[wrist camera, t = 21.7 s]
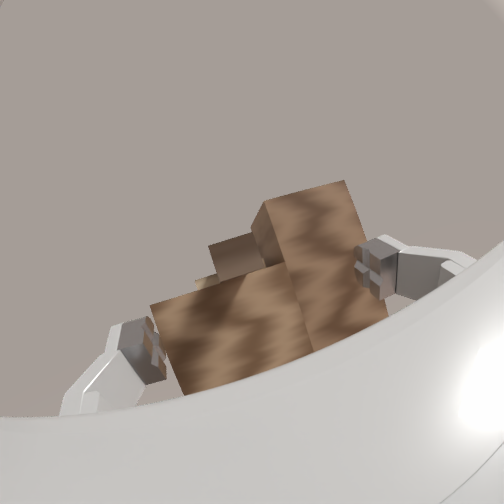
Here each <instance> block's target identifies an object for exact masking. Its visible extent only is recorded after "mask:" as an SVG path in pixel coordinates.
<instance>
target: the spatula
mask: <svg viewBox="0 0 504 504" xmlns="http://www.w3.org/2000/svg"><path fill="white" fill-rule="evenodd" d="M208 247H209V250H210V253H211V256H212V260H213V263H214V266H215V269H216V272H217V274H214V275H210V276H208V277H204V278H201V279H198V280H195V283H196V286H197V289H198V290H200V289H204V288H207V287H210V286H213V285H216V284H219V283H222V282H225V281H228V280H231V279H234V278H238V277H241V276H244V275H247V274H250V273H253V272H256V271H259V270H262V269H265V268H266V265H265V262H264V259H262V258H261V255H260V252H259V249H258V246H257V243H256V240H255V237H254V234H253V232H251V233H248V234H245V235H241V236H238V237H236V238H232V239H228V240H225V241H222V242H219V243H216V244H213V245H210V246H208Z"/></svg>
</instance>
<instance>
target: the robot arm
mask: <svg viewBox="0 0 504 504" xmlns="http://www.w3.org/2000/svg"><path fill="white" fill-rule="evenodd" d="M3 1H4V0H0V6H1V5H2V3H3ZM353 254H354V258H355V259H356V260H357V261H356V264H355V266H354V272H355V276H356V279H357V281H358V282H359V284H360V285H361V286H362V287H365V288H370V293H371V294H372V295H373V296H374V297H375V298H377V299H378V300H379V301H380V300H382V299H384V298H387V297H388V296H391V295H393V294H395V293H396V294H398V295H401V296H404V297H407V298H410V299H413V300H416V301H415V302H413V303H412V304H410V305H408V306H406V307H405V308H403V309H401V310H399V311H398V312H396V313H394V314H392V315H390V316H389V317H387V318H385V319H383V320H381V321H379V322H377V323H375V324H373V325H371V326H369V327H368V328H366V329H364V330H362V331H359V332H357V333H355V334H353V335H351V336H349V337H347V338H345V339H343V340H341V341H339V342H336V343H334V344H332V345H330V346H328V347H325V348H323V349H321V350H318V351H316V352H314V353H311V354H309V355H307V356H304V357H302V358H299V359H297V360H294V361H292V362H289V363H286V364H284V365H281V366H279V367H276V368H273V369H270V370H268V371H265V372H262V373H259V374H256V375H253V376H250V377H247V378H244V379H241V380H238V381H235V382H232V383H229V384H225V385H222V386H219V387H215V388H212V389H208V390H205V391H201V392H197V393H194V394H190V395H186V396H182V397H178V398H173V399H169V400H165V401H161V402H156V403H151V404H146V405H141V406H136V404H137V402H138V400H139V398H140V396H141V394H142V393H143V391H144V389H145V387H146V385H148V384H152V383H156V382H159V381H163V380H166V379H167V378H166V365H165V364H164V362H163V361H164V360H165V358H166V351H165V347H164V344H163V341H162V339H161V337H160V335H159V334H158V333H156V332H154V325H153V323H152V321H151V319H150V318H149V317H148V316H146V317H143V318H139V319H135V320H132V321H128V322H124V323H120V324H117V325H114V326H112V327H111V329H110V332H109V336H108V340H107V344H106V348H105V352H104V354H101V355H100V356H99V357H98V358H97V359H96V360H95V361H94V363H92V364H91V366H90V367H89V368H88V369H87V370H86V371H85V372H84V373H83V374H82V376H81V377H80V378H79V379H78V380H77V381H76V382H75V383H74V384H73V386H72V387H71V388H70V389H69V390H68V391H67V392H66V394H65V395H64V398H63V402H62V406H61V410H60V414H59V416H51V417H0V504H504V240H503V241H502V242H500V243H499V244H498V245H497V246H495V247H494V248H493V249H492V250H490V251H489V252H488V253H486V254H485V255H484V256H483V257H481V258H480V259H479V260H476V259H474V258H472V257H470V256H468V255H467V254H464V253H463V252H461V251H453V250H444V249H436V248H427V247H417V246H411V247H409V246H407V245H405V244H403V243H401V242H399V241H397V240H396V239H394V238H391V237H390V236H388V235H381V236H379V237H377V238H374V239H372V240H370V241H367V242H365V243H362V244H360V245H357V246H355V247H354V251H353Z"/></svg>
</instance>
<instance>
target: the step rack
mask: <svg viewBox="0 0 504 504" xmlns="http://www.w3.org/2000/svg"><path fill="white" fill-rule="evenodd" d="M251 230H252V232H253V234H254V237H255V240H256V243H257V246H258V249H259V252H260V255H261V258H262V259H264V262H265V265H266V268H265V269H262V270H259V271H256V272H253V273H250V274H247V275H244V276H241V277H238V278H234V279H231V280H228V281H225V282H222V283H219V284H216V285H213V286H210V287H207V288H204V289H200V290H197V291H194V292H191V293H188V294H185V295H182V296H178V297H176V298H172V299H169V300H166V301H162V302H159V303H156V304H153V305H150V308H151V311H152V314H153V317H154V320H155V323H156V326H157V328H158V331H159V334H160V337H161V339H162V341H163V344H164V347H165V350H166V353H167V355H168V358H169V361H170V363H171V365H172V368H173V371H174V373H175V375H176V378H177V380H178V382H179V385H180V387H181V389H182V392H183V394H184V396H186V395H190V394H194V393H197V392H201V391H205V390H208V389H212V388H215V387H219V386H222V385H225V384H229V383H232V382H235V381H238V380H241V379H244V378H247V377H250V376H253V375H256V374H259V373H262V372H265V371H268V370H270V369H273V368H276V367H279V366H281V365H284V364H286V363H289V362H292V361H294V360H297V359H299V358H302V357H304V356H307V355H309V354H311V353H314V352H316V351H318V350H321V349H323V348H325V347H328V346H330V345H332V344H334V343H336V342H339V341H341V340H343V339H345V338H347V337H349V336H351V335H353V334H355V333H357V332H359V331H362V330H364V329H366V328H368V327H369V326H371V325H373V324H375V323H377V322H379V321H381V320H383V319H385V318H387V317H389V316H388V312H387V309H386V304H385V300H384V299H382V300H380V301H379V300H378V299H377V298H375V297H374V296H373V295H372V294H371V293H370V288H365V287H362V286H361V285H360V284H359V282H358V281H357V279H356V276H355V272H354V266H355V264H356V261H357V260H356V259H355V258H354V254H353V251H354V247H355V246H357V245H360V244H362V243H365V242H367V240H366V237H365V234H364V231H363V228H362V225H361V223H360V220H359V217H358V215H357V212H356V209H355V206H354V204H353V201H352V199H351V196H350V194H349V191H348V189H347V186H346V184H345V181H344V180H342V181H339V182H334V183H330V184H326V185H322V186H318V187H315V188H310V189H306V190H303V191H299V192H296V193H291V194H288V195H284V196H280V197H277V198H273V199H269V200H266V201H264V202H263V204H262V206H261V208H260V210H259V212H258V214H257V216H256V218H255V219H254V222H253V224H252V225H251Z"/></svg>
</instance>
